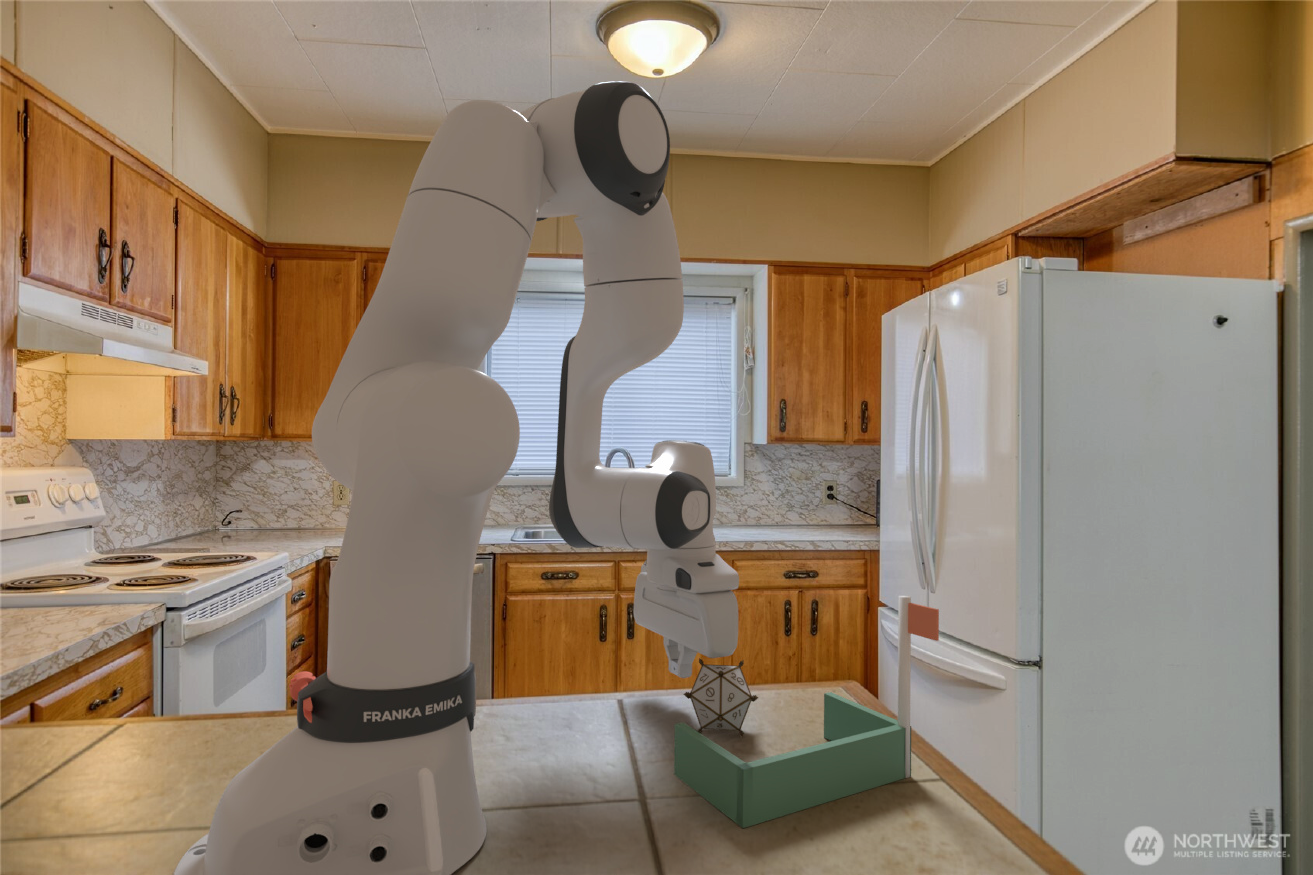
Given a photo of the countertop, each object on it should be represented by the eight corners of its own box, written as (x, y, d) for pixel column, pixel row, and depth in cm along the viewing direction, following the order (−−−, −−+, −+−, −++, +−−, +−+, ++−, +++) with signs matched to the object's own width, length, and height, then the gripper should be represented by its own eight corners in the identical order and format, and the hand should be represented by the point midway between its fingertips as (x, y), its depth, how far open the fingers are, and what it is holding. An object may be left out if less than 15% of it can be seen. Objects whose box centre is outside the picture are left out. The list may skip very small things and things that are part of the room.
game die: (730, 758, 83) (773, 684, 86) (730, 761, 75) (779, 679, 78) (667, 712, 86) (712, 642, 88) (662, 711, 78) (711, 633, 80)
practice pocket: (768, 848, 57) (770, 627, 58) (674, 774, 70) (676, 594, 71) (941, 790, 68) (941, 603, 68) (830, 735, 81) (832, 578, 81)
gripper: (623, 557, 98) (621, 656, 98) (703, 581, 80) (702, 703, 80) (662, 554, 101) (661, 651, 101) (748, 577, 83) (747, 694, 83)
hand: (680, 674), depth 90 cm, fingers closed
